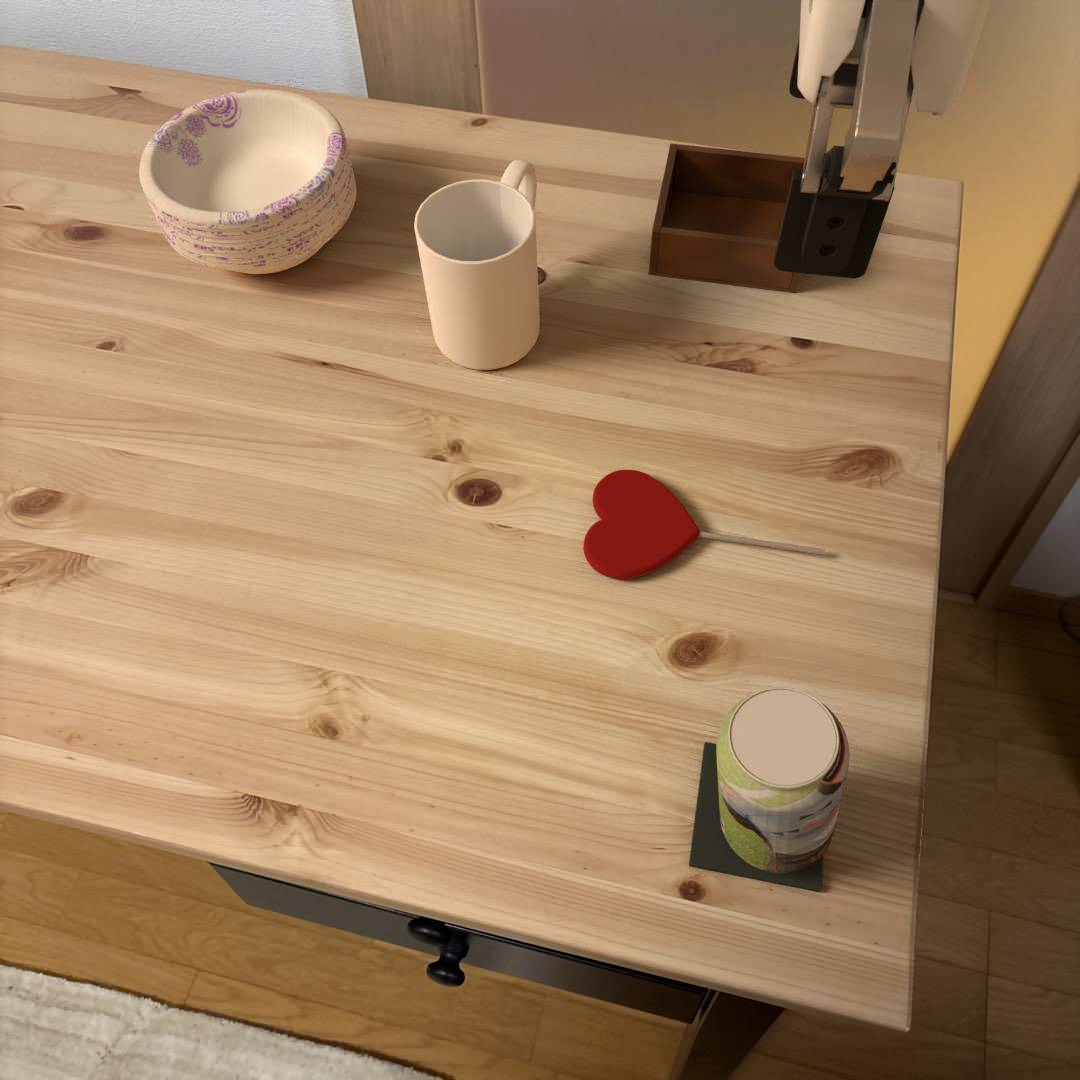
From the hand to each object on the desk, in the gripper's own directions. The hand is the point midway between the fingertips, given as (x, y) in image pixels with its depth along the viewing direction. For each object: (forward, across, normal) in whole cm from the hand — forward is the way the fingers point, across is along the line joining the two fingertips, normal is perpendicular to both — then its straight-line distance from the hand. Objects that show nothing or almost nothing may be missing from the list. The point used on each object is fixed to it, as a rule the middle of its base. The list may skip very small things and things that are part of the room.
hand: (823, 177), depth 38 cm
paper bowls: (+30, +24, +38) cm, 54 cm away
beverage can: (+29, -16, -3) cm, 34 cm away
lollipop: (+30, +1, +1) cm, 30 cm away
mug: (+30, +18, +18) cm, 40 cm away
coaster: (+30, -16, -3) cm, 34 cm away
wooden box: (+30, +29, +2) cm, 41 cm away
